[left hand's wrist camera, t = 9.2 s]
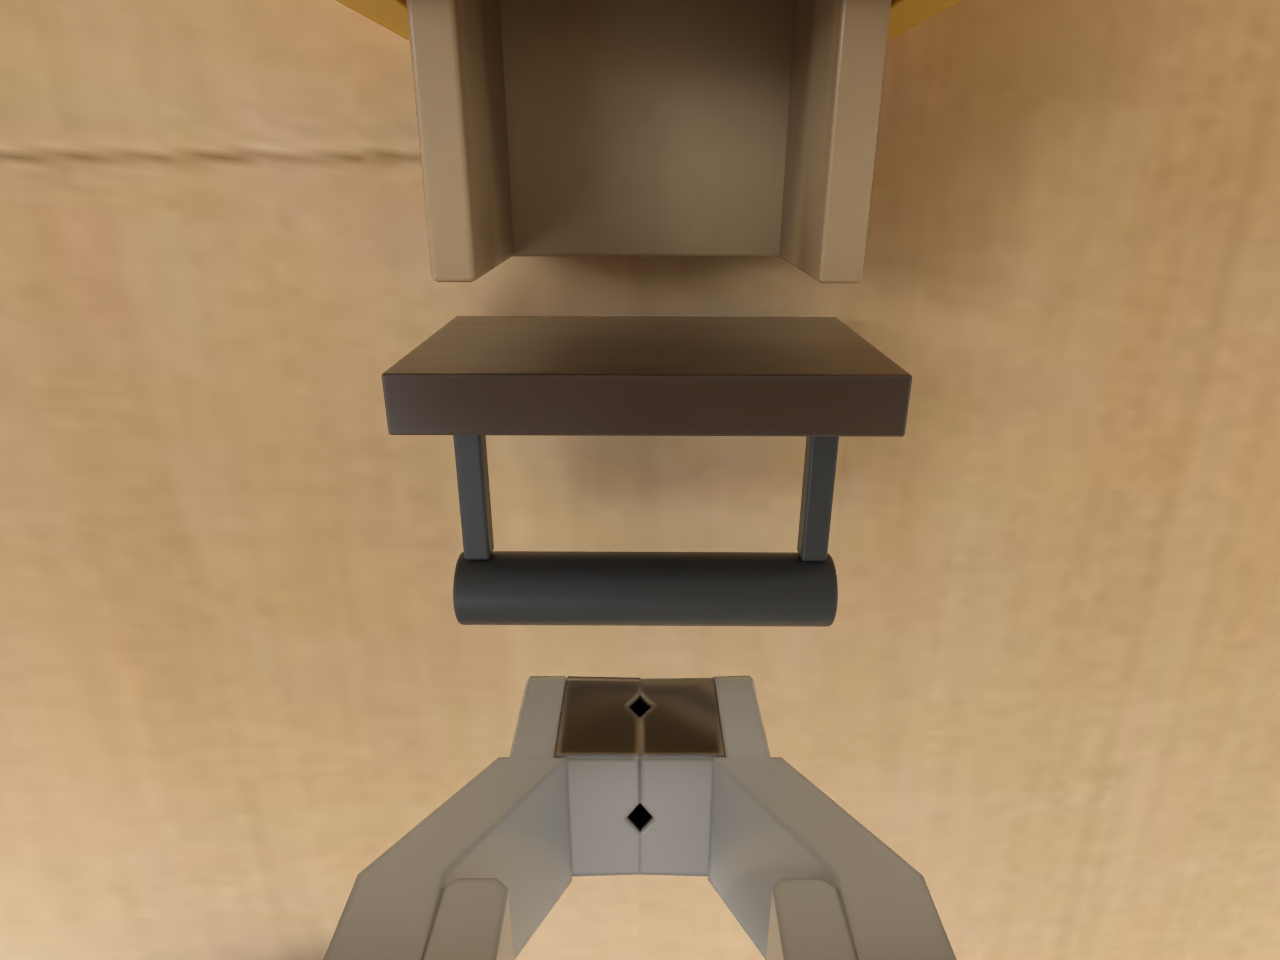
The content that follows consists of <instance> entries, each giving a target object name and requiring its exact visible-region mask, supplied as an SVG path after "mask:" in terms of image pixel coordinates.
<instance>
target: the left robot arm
mask: <svg viewBox="0 0 1280 960" xmlns="http://www.w3.org/2000/svg"><path fill="white" fill-rule="evenodd" d="M632 874H646V875H681V876H708V880H709V882H710V883H711V884H712V886H713V887H714V889H715V890H716V891H717V893H718V894H719V895H720V897H721V898H722V900H723V901H724V902H725V904H726V905H727V907H728V908H729V909H730V911H731V912H732V914H733V915H734V916H735V918H736V919H737V920H738V922H739V923H740V925H741V926H742V927H743V929H744V930H745V932H746V933H747V934H748V936H749V937H750V938H751V940H752V941H753V943H754V944H755V945H756V947H757V948H758V950H759V951H760V952H761V954H762V955H763V956H764V958H765V959H766V960H956V957H955V955H954V952H953V950H952V947H951V945H950V942H949V940H948V937H947V935H946V933H945V930H944V928H943V925H942V923H941V920H940V918H939V915H938V913H937V910H936V908H935V905H934V903H933V900H932V898H931V895H930V893H929V890H928V888H927V885H926V883H925V880H924V878H923V876H922V875H921V874H920V873H919V872H918V871H916V870H915V869H914V868H913V867H912V866H910V865H909V864H908V863H907V862H906V861H905V860H903V859H902V858H901V857H900V856H899V855H897V854H896V853H895V852H894V851H893V850H891V849H890V848H889V847H888V846H887V845H885V844H884V843H883V842H882V841H881V840H879V839H878V838H877V837H876V836H875V835H873V834H872V833H871V832H870V831H869V830H868V829H866V828H865V827H864V826H863V825H862V824H860V823H859V822H858V821H857V820H856V819H854V818H853V817H852V816H851V815H850V814H848V813H847V812H846V811H845V810H844V809H842V808H841V807H840V806H839V805H838V804H836V803H835V802H834V801H833V800H832V799H830V798H829V797H828V796H827V795H826V794H825V793H823V792H822V791H821V790H820V789H819V788H817V787H816V786H815V785H814V784H813V783H811V782H810V781H809V780H808V779H807V778H805V777H804V776H803V775H802V774H801V773H799V772H798V771H797V770H796V769H795V768H793V767H792V766H791V765H790V764H789V763H787V762H786V761H785V760H784V759H783V758H771V757H770V753H769V748H768V744H767V739H766V735H765V731H764V726H763V722H762V717H761V713H760V708H759V704H758V700H757V695H756V691H755V686H754V682H753V679H752V678H751V677H750V676H728V677H713V678H667V679H640V678H618V677H571V676H568V678H566V677H565V676H530V678H529V679H528V681H527V682H526V686H525V690H524V695H523V699H522V703H521V708H520V712H519V717H518V721H517V726H516V730H515V735H514V739H513V744H512V748H511V752H510V757H509V758H497V759H496V760H495V761H494V762H493V763H491V764H490V765H489V766H488V767H487V768H485V769H484V770H483V771H482V772H481V773H479V774H478V775H477V776H476V777H475V778H473V779H472V780H471V781H470V782H469V783H467V784H466V785H465V786H464V787H463V788H461V789H460V790H459V791H458V792H457V793H455V794H454V795H453V796H452V797H451V798H449V799H448V800H447V801H446V802H445V803H443V804H442V805H441V806H440V807H439V808H437V809H436V810H435V811H434V812H433V813H431V814H430V815H429V816H428V817H427V818H425V819H424V820H423V821H422V822H421V823H419V824H418V825H417V826H416V827H415V828H413V829H412V830H411V831H410V832H409V833H407V834H406V835H405V836H404V837H403V838H401V839H400V840H399V841H398V842H397V843H395V844H394V845H393V846H392V847H391V848H389V849H388V850H387V851H386V852H385V853H383V854H382V855H381V856H380V857H379V858H377V859H376V860H375V861H374V862H373V863H371V864H370V865H369V866H368V867H367V868H365V869H364V870H363V871H362V872H361V873H359V874H358V876H357V879H356V881H355V884H354V886H353V888H352V891H351V893H350V896H349V898H348V901H347V903H346V906H345V908H344V911H343V913H342V915H341V918H340V920H339V923H338V925H337V928H336V930H335V933H334V935H333V938H332V940H331V943H330V945H329V947H328V950H327V952H326V955H325V957H324V960H515V958H516V957H517V956H518V954H519V953H520V951H521V950H522V949H523V947H524V946H525V945H526V943H527V942H528V940H529V939H530V938H531V936H532V935H533V934H534V932H535V931H536V929H537V928H538V927H539V925H540V924H541V923H542V921H543V920H544V918H545V917H546V916H547V914H548V913H549V911H550V910H551V909H552V907H553V906H554V905H555V903H556V902H557V900H558V899H559V898H560V896H561V895H562V894H563V892H564V891H565V889H566V888H567V887H568V885H569V884H570V883H571V881H572V876H598V875H632Z"/></svg>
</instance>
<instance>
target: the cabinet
mask: <svg viewBox="0 0 1280 960" xmlns="http://www.w3.org/2000/svg"><path fill="white" fill-rule="evenodd" d="M336 1H338V2H340V3H342V4H343V5H345V6H347V7H349V8H351V9H352V10H354V11H356V12H358V13H360V14H361V15H363V16H365V17H367V18H369V19H371V20H372V21H374V22H376V23H378V24H380V25H381V26H383V27H385V28H387V29H389V30H391V31H392V32H394V33H396V34H398V35H400V36H401V37H403V38H405V39H407V40H410V35H409V25H408V14H407V3H406V0H336ZM960 1H962V0H891V9H890V18H889V28H888V38H887V40H890V39H892V38H893V37H895V36H897V35H899V34H901V33H903V32H905V31H906V30H908V29H910V28H912V27H914V26H916V25H918V24H919V23H921V22H923V21H925V20H927V19H929V18H931V17H932V16H934V15H936V14H938V13H940V12H942V11H944V10H945V9H947V8H949V7H951V6H953V5H955V4H957V3H958V2H960Z"/></svg>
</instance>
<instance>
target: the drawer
mask: <svg viewBox="0 0 1280 960" xmlns="http://www.w3.org/2000/svg"><path fill="white" fill-rule="evenodd" d="M406 3H407V14H408V25H409V35H410V46H411V57H412V68H413V78H414V89H415V100H416V110H417V121H418V132H419V143H420V153H421V164H422V175H423V185H424V196H425V207H426V217H427V228H428V239H429V250H430V260H431V271H432V277H433V279H434V280H435V281H437V282H472V281H474V280H476V279H477V278H479V277H481V276H482V275H484V274H485V273H487V272H488V271H490V270H492V269H493V268H495V267H496V266H498V265H499V264H501V263H502V262H504V261H506V260H507V259H509V258H510V257H512V256H602V257H781V258H783V259H784V260H786V261H788V262H789V263H791V264H792V265H794V266H795V267H797V268H799V269H800V270H802V271H803V272H805V273H807V274H808V275H810V276H811V277H813V278H814V279H816V280H818V281H819V282H821V283H859V282H861V281H862V279H863V270H864V260H865V250H866V241H867V231H868V221H869V212H870V202H871V192H872V183H873V173H874V163H875V154H876V144H877V134H878V125H879V115H880V105H881V96H882V86H883V76H884V67H885V57H886V47H887V38H888V28H889V18H890V9H891V0H406ZM382 382H383V390H384V398H385V407H386V415H387V423H388V431H389V434H391V435H454V446H455V457H456V469H457V480H458V491H459V502H460V513H461V524H462V535H463V546H464V552H462V553H461V554H460V556H459V558H458V561H457V564H456V569H455V575H454V586H453V599H454V609H455V614H456V618H457V620H458V622H459V623H460V624H462V625H640V626H830V625H832V623H833V621H834V619H835V615H836V610H837V599H838V588H837V576H836V570H835V566H834V562H833V560H832V557H831V556H830V555H829V554H827V550H828V540H829V530H830V520H831V510H832V500H833V490H834V480H835V470H836V460H837V450H838V440H839V436H883V437H902V436H904V434H905V427H906V420H907V412H908V405H909V397H910V390H911V382H912V376H911V375H910V374H909V373H907V372H906V371H905V370H904V369H902V368H901V367H900V366H898V365H897V364H896V363H894V362H893V361H892V360H891V359H889V358H888V357H887V356H885V355H884V354H883V353H881V352H880V351H879V350H878V349H876V348H875V347H874V346H872V345H871V344H870V343H868V342H867V341H866V340H865V339H863V338H862V337H861V336H859V335H858V334H857V333H855V332H854V331H853V330H852V329H850V328H849V327H848V326H846V325H845V324H844V323H842V322H841V321H840V320H838V319H837V318H835V317H557V316H457V317H455V318H454V319H453V320H452V321H450V322H449V323H448V324H446V325H445V326H444V327H443V328H441V329H440V330H439V331H437V332H436V333H435V334H433V335H432V336H431V337H430V338H428V339H427V340H426V341H424V342H423V343H422V344H420V345H419V346H418V347H417V348H415V349H414V350H413V351H411V352H410V353H409V354H408V355H406V356H405V357H404V358H402V359H401V360H400V361H398V362H397V363H396V364H395V365H393V366H392V367H391V368H389V369H388V370H387V371H386V372H384V373H383V374H382ZM485 435H600V436H807V439H806V451H805V463H804V475H803V487H802V499H801V511H800V523H799V535H798V547H797V550H798V553H757V552H524V551H493V549H494V545H493V531H492V518H491V504H490V491H489V478H488V464H487V451H486V437H485Z"/></svg>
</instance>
